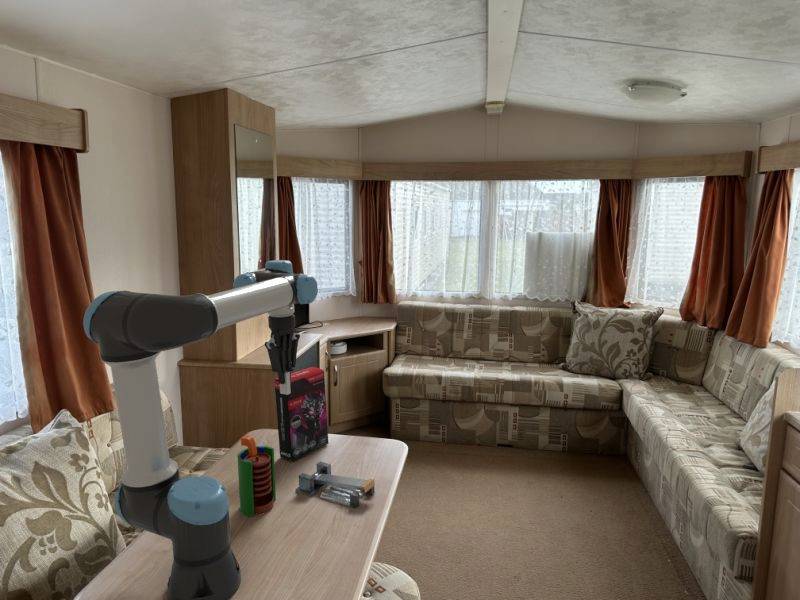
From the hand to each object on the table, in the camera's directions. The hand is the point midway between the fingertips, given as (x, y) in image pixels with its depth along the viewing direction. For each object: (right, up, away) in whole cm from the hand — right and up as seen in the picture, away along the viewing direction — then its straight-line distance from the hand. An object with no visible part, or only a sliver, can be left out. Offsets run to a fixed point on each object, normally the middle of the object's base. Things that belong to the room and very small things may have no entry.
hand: (285, 393), depth 165 cm
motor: (-6, -30, -10) cm, 32 cm away
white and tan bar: (+8, -25, +1) cm, 26 cm away
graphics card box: (+1, -24, +24) cm, 34 cm away
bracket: (+15, -28, -2) cm, 32 cm away
